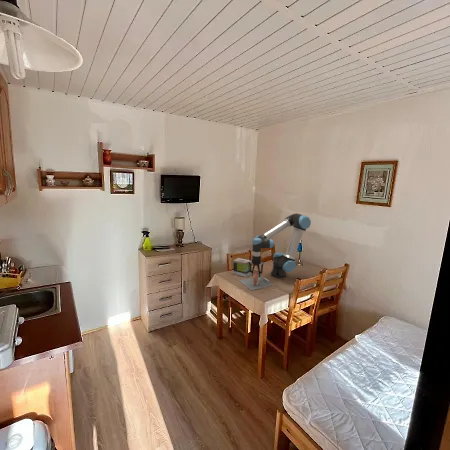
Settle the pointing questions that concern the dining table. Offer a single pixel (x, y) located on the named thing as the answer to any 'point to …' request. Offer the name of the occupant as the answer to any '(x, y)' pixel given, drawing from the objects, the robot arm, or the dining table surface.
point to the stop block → (266, 280)
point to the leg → (256, 278)
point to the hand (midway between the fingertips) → (255, 279)
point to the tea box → (241, 267)
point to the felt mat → (249, 285)
